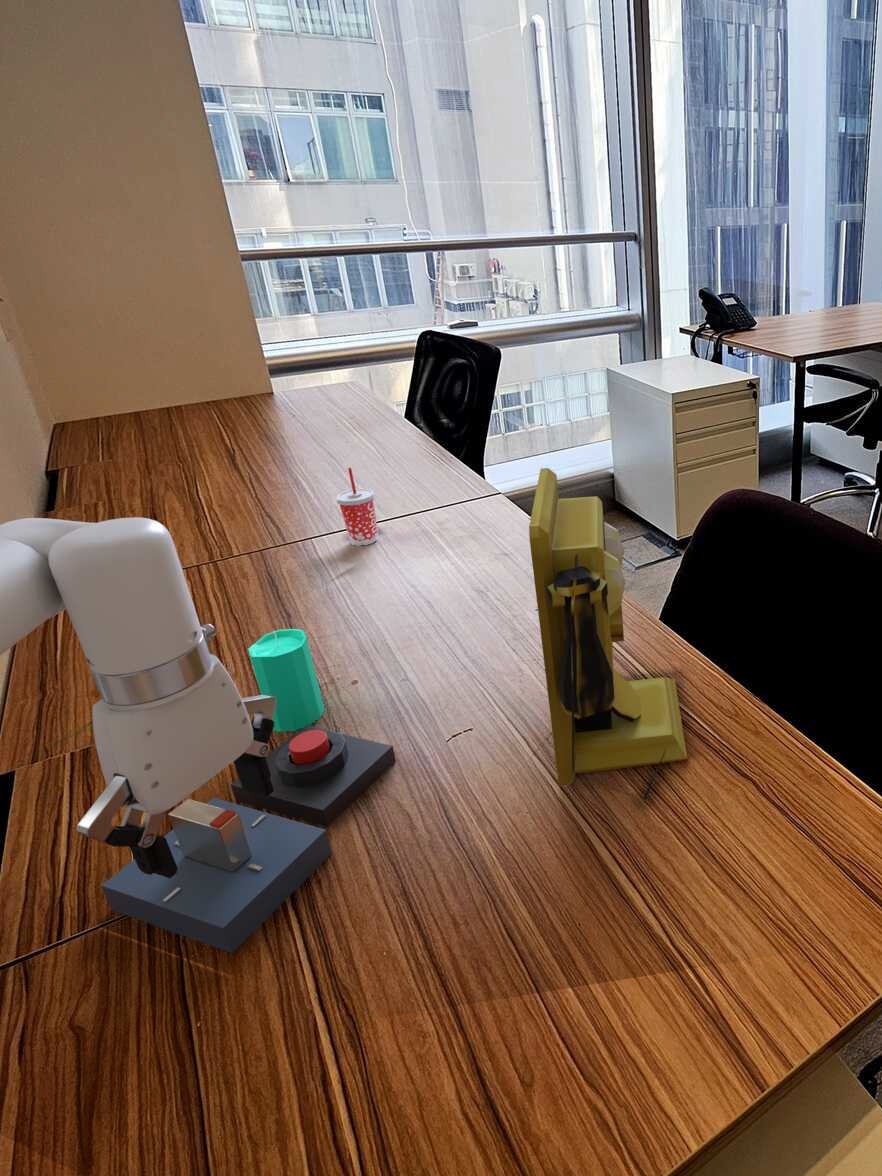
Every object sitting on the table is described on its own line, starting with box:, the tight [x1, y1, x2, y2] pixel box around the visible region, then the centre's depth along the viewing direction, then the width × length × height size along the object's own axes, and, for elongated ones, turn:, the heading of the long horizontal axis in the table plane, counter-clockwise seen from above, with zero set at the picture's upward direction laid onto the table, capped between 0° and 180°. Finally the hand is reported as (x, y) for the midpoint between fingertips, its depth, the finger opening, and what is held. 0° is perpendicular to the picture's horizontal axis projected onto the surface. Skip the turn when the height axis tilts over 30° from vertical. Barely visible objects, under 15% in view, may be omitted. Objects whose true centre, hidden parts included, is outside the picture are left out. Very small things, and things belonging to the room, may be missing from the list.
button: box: [289, 730, 330, 765], centre depth 82 cm, size 4×4×2 cm
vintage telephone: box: [528, 467, 688, 802], centre depth 85 cm, size 31×14×30 cm, turn 9°
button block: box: [230, 725, 397, 828], centre depth 83 cm, size 12×10×4 cm
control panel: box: [100, 797, 333, 954], centre depth 71 cm, size 14×11×3 cm
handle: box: [167, 798, 252, 872], centre depth 70 cm, size 6×2×5 cm, turn 72°
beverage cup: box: [335, 467, 379, 547], centre depth 138 cm, size 6×6×14 cm
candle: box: [247, 628, 325, 733], centre depth 92 cm, size 6×6×12 cm
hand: (213, 828), depth 69 cm, fingers open, 9 cm apart
